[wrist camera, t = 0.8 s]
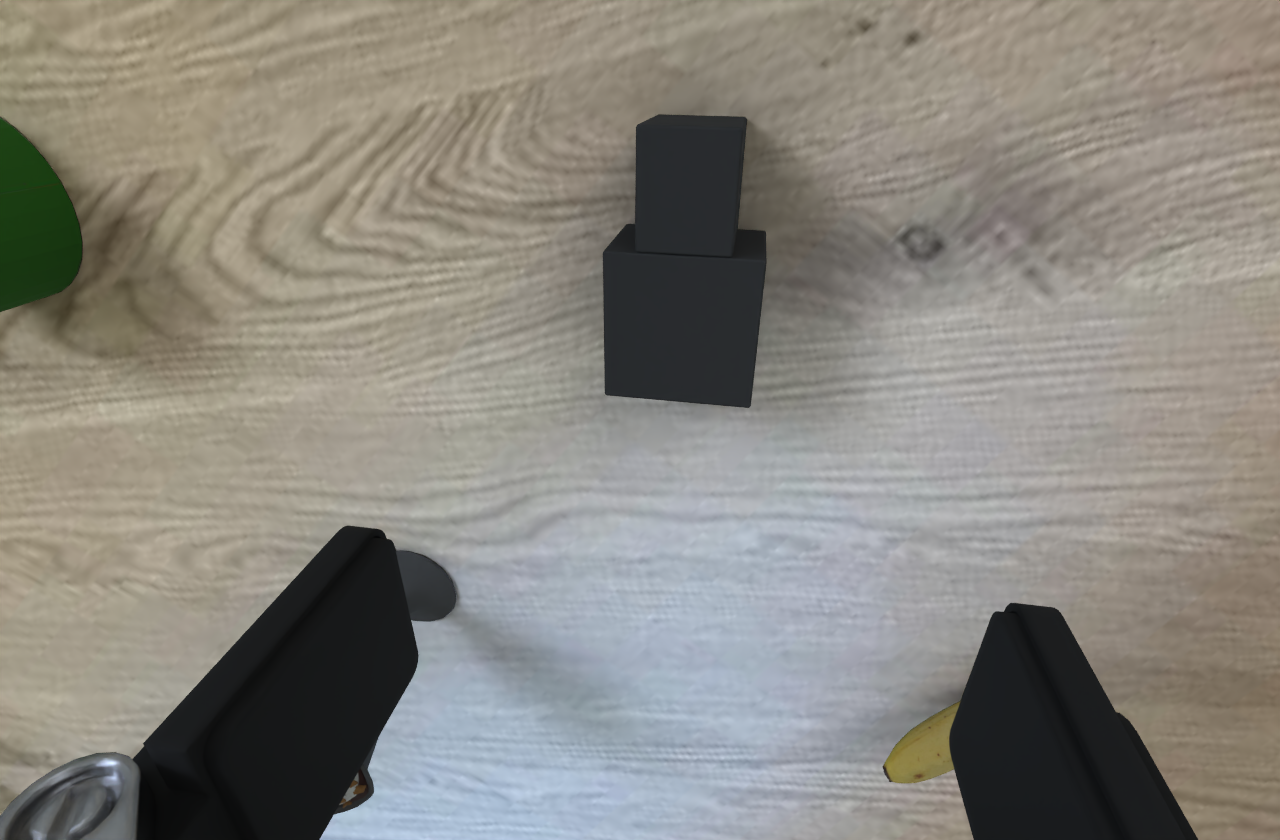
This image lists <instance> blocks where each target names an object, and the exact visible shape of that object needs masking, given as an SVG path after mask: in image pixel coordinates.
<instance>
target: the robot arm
mask: <svg viewBox="0 0 1280 840" xmlns="http://www.w3.org/2000/svg"><path fill="white" fill-rule="evenodd" d="M417 663H418V650H417V645H416V641H415V636H414V631H413V627H412V622H411V618H410V613H409V609H408V604H407V600H406V595H405V591H404V586H403V582H402V577H401V573H400V568H399V564H398V559H397V554H396V550H395V546H394V543H393V542H392V541H391V540H389V539H387V538H386V536H385V533H384V532H383V531H382V530H379V529H372V528H364V527H355V526H345V527H343V528H342V529H340V530H339V531H338V532H337V533H336V534H335V535H334V536H333V537H332V539H331V540H330V541H329V542H328V543H327V544H326V545H325V546H324V547H323V548H322V549H321V551H320V552H319V553H318V554H317V555H316V556H315V557H314V558H313V559H312V560H311V561H310V563H309V564H308V565H307V566H306V567H305V568H304V569H303V570H302V571H301V572H300V573H299V575H298V576H297V577H296V578H295V579H294V580H293V581H292V582H291V583H290V584H289V585H288V586H287V588H286V589H285V590H284V591H283V592H282V593H281V594H280V595H279V596H278V597H277V598H276V600H275V601H274V602H273V603H272V604H271V605H270V606H269V607H268V608H267V609H266V610H265V612H264V613H263V614H262V615H261V616H260V617H259V618H258V619H257V620H256V621H255V622H254V624H253V625H252V626H251V627H250V628H249V629H248V630H247V631H246V632H245V633H244V634H243V635H242V637H241V638H240V639H239V640H238V641H237V642H236V643H235V644H234V645H233V646H232V647H231V649H230V650H229V651H228V652H227V653H226V654H225V655H224V656H223V657H222V658H221V659H220V661H219V662H218V663H217V664H216V665H215V666H214V667H213V668H212V669H211V670H210V671H209V673H208V674H207V675H206V676H205V677H204V678H203V679H202V680H201V681H200V682H199V683H198V684H197V686H196V687H195V688H194V689H193V690H192V691H191V692H190V693H189V694H188V695H187V696H186V698H185V699H184V700H183V701H182V702H181V703H180V704H179V705H178V706H177V707H176V708H175V710H174V711H173V712H172V713H171V714H170V715H169V716H168V717H167V718H166V719H165V720H164V722H163V723H162V724H161V725H160V726H159V727H158V728H157V729H156V730H155V731H154V732H153V733H152V735H151V736H150V737H149V738H148V739H147V740H146V741H145V742H144V743H143V744H144V747H143V748H142V749H141V751H140V752H139V753H138V754H137V755H136V756H135V757H134V758H133V759H131V758H130V757H129V756H126V755H123V754H120V753H116V752H110V753H96V754H92V755H89V756H85V757H82V758H78V759H75V760H73V761H71V762H69V763H67V764H64V765H62V766H60V767H58V768H56V769H54V770H52V771H51V772H49V773H48V774H46V775H45V776H43V777H42V778H40V779H39V780H37V781H36V782H34V783H33V784H31V785H30V786H29V787H28V788H27V789H25V790H24V791H23V792H22V793H21V794H20V795H19V796H18V797H16V798H15V799H14V800H13V801H12V802H11V803H10V804H9V806H8V807H7V808H6V809H5V811H4V812H3V813H2V814H1V816H0V840H319V839H320V837H321V836H322V834H323V832H324V830H325V829H326V827H327V825H328V824H329V822H330V820H331V818H332V817H333V815H334V813H335V811H336V810H337V808H338V806H339V804H340V803H341V801H342V799H343V797H344V796H345V794H346V792H347V790H348V789H349V787H350V785H351V783H352V782H353V780H354V778H355V777H356V775H357V773H358V771H359V770H360V768H361V766H362V764H363V763H364V761H365V759H366V757H367V756H368V754H369V752H370V750H371V749H372V747H373V745H374V743H375V742H376V740H377V738H378V737H379V735H380V733H381V731H382V730H383V728H384V726H385V724H386V723H387V721H388V719H389V717H390V716H391V714H392V712H393V710H394V709H395V707H396V705H397V703H398V702H399V700H400V698H401V697H402V695H403V693H404V691H405V690H406V688H407V686H408V684H409V683H410V681H411V679H412V677H413V675H414V673H415V671H416V668H417ZM949 747H950V754H951V759H952V762H953V766H954V769H955V773H956V777H957V780H958V784H959V788H960V791H961V795H962V798H963V802H964V806H965V809H966V813H967V817H968V820H969V824H970V827H971V831H972V835H973V838H974V840H1198V838H1197V837H1196V835H1195V833H1194V831H1193V830H1192V828H1191V826H1190V824H1189V823H1188V821H1187V819H1186V817H1185V816H1184V814H1183V812H1182V810H1181V809H1180V807H1179V805H1178V803H1177V802H1176V800H1175V798H1174V796H1173V794H1172V793H1171V791H1170V789H1169V787H1168V786H1167V784H1166V782H1165V780H1164V779H1163V777H1162V775H1161V773H1160V772H1159V770H1158V768H1157V766H1156V765H1155V763H1154V761H1153V759H1152V757H1151V756H1150V754H1149V752H1148V750H1147V749H1146V747H1145V745H1144V743H1143V742H1142V740H1141V738H1140V736H1139V735H1138V733H1137V731H1136V730H1135V728H1134V727H1133V726H1132V724H1131V723H1130V721H1129V720H1128V719H1126V718H1125V717H1124V716H1123V715H1121V714H1120V713H1117V712H1115V710H1114V708H1113V706H1112V704H1111V703H1110V701H1109V699H1108V697H1107V695H1106V694H1105V692H1104V690H1103V688H1102V686H1101V684H1100V683H1099V681H1098V679H1097V677H1096V675H1095V674H1094V672H1093V670H1092V668H1091V666H1090V665H1089V663H1088V661H1087V659H1086V657H1085V655H1084V654H1083V652H1082V650H1081V648H1080V646H1079V645H1078V643H1077V641H1076V639H1075V637H1074V636H1073V634H1072V632H1071V630H1070V628H1069V627H1068V625H1067V623H1066V621H1065V619H1064V617H1063V616H1062V614H1061V613H1060V612H1059V611H1058V610H1057V609H1055V608H1052V607H1044V606H1035V605H1026V604H1018V603H1010V604H1009V605H1008V606H1007V607H1006V609H1005V611H1004V612H999V611H998V612H995V613H993V615H992V617H991V619H990V622H989V625H988V627H987V630H986V633H985V636H984V638H983V641H982V644H981V647H980V649H979V652H978V655H977V658H976V660H975V663H974V666H973V669H972V671H971V674H970V677H969V679H968V682H967V685H966V688H965V690H964V693H963V696H962V699H961V701H960V704H959V707H958V710H957V712H956V715H955V718H954V721H953V723H952V726H951V729H950V735H949Z"/></svg>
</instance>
